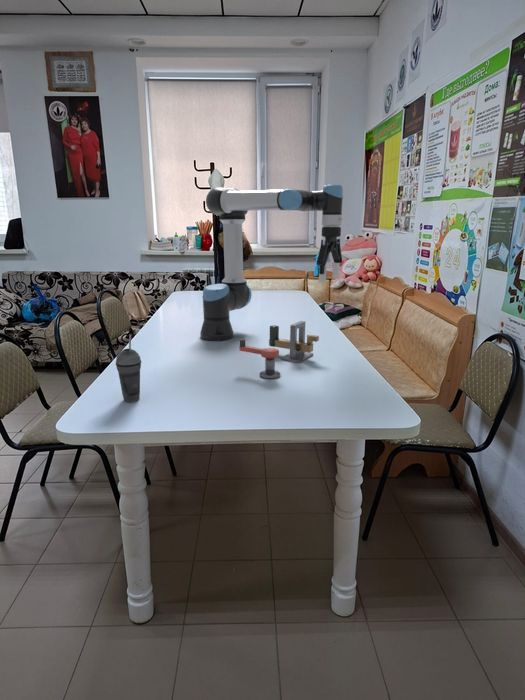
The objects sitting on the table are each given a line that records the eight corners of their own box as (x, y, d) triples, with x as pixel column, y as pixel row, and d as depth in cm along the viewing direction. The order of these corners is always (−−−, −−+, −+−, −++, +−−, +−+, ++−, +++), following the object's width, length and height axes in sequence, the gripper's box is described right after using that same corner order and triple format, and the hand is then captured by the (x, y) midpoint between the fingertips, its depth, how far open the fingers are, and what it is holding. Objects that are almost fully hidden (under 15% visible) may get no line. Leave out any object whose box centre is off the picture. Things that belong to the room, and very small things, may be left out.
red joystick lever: (235, 352, 155) (235, 341, 154) (244, 348, 160) (244, 337, 159) (273, 359, 148) (273, 347, 147) (282, 354, 153) (282, 343, 152)
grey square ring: (280, 359, 171) (281, 324, 168) (295, 352, 181) (296, 319, 177) (299, 362, 167) (300, 327, 164) (313, 355, 177) (314, 321, 173)
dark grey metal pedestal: (255, 376, 153) (255, 357, 151) (266, 371, 158) (266, 352, 156) (273, 380, 149) (273, 360, 147) (283, 374, 155) (284, 355, 153)
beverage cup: (121, 395, 136) (115, 331, 131) (146, 394, 137) (141, 331, 131) (116, 404, 129) (109, 337, 124) (142, 403, 130) (136, 337, 124)
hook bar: (267, 345, 178) (267, 326, 176) (272, 343, 181) (272, 325, 179) (315, 353, 168) (315, 333, 165) (319, 351, 171) (319, 331, 168)
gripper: (327, 226, 164) (325, 284, 170) (351, 226, 185) (348, 277, 191) (309, 226, 168) (307, 283, 174) (334, 226, 188) (332, 276, 194)
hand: (329, 280), depth 182 cm, fingers open, 13 cm apart
